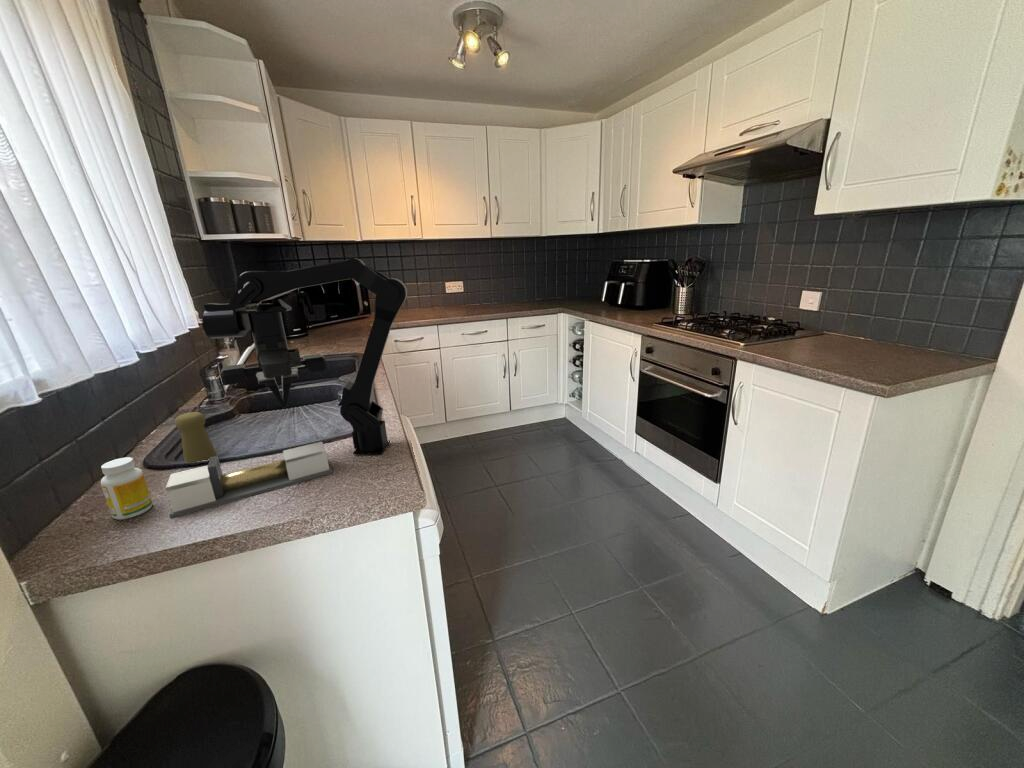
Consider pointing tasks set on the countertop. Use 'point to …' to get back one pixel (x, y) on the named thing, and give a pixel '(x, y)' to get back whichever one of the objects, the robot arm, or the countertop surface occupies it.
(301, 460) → the sleeve
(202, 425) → the cork
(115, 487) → the supplement bottle
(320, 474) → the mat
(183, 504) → the socket
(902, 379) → the countertop surface
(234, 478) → the bolt
